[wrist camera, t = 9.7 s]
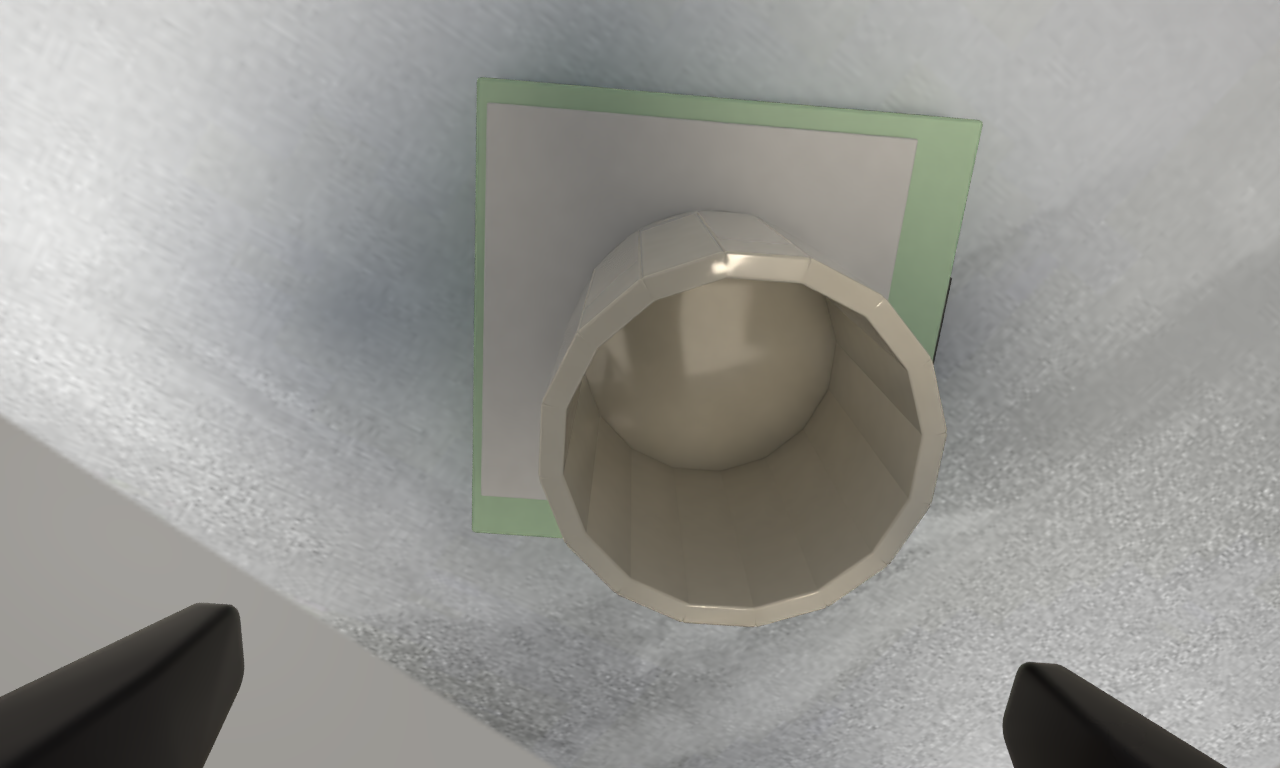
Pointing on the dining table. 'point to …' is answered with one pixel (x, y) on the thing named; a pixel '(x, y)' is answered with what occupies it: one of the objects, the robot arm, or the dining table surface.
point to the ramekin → (736, 424)
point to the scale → (669, 185)
